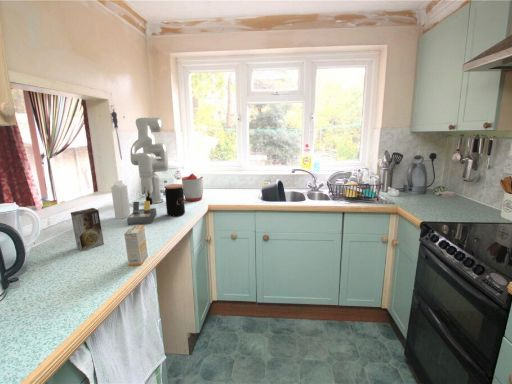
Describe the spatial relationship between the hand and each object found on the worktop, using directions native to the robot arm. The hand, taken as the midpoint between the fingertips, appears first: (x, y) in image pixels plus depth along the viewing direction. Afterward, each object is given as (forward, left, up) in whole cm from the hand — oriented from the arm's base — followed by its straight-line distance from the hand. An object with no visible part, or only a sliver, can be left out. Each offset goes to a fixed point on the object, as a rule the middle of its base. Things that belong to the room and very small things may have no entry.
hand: (149, 204), depth 162 cm
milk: (+1, -16, -7) cm, 17 cm away
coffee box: (+44, -18, -7) cm, 48 cm away
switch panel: (+9, -3, -7) cm, 11 cm away
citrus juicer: (-35, +25, -7) cm, 44 cm away
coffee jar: (+3, +15, -7) cm, 17 cm away
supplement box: (+65, +7, -7) cm, 66 cm away
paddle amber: (+9, 0, -3) cm, 9 cm away
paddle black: (+9, -6, -3) cm, 11 cm away
